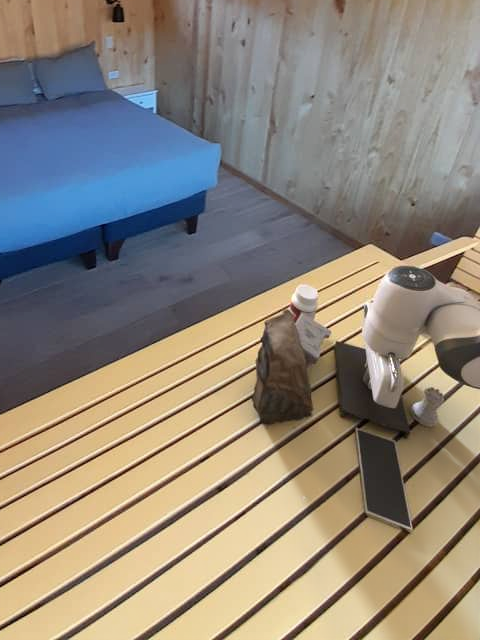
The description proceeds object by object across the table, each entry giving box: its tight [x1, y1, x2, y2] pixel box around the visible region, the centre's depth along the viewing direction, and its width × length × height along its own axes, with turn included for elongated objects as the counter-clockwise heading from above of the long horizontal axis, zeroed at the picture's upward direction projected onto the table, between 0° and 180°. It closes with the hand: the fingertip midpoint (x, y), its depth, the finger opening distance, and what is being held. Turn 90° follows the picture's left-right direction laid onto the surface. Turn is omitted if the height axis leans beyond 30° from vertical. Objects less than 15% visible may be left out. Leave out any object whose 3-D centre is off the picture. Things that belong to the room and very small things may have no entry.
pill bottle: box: [288, 284, 319, 323], centre depth 103 cm, size 6×6×11 cm
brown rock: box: [251, 308, 315, 426], centre depth 84 cm, size 13×13×20 cm
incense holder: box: [295, 314, 332, 370], centre depth 93 cm, size 10×8×10 cm
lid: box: [333, 340, 411, 440], centre depth 88 cm, size 12×18×6 cm, turn 158°
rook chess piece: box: [410, 386, 445, 428], centre depth 82 cm, size 4×4×8 cm
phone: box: [354, 427, 414, 534], centre depth 74 cm, size 7×15×1 cm, turn 158°
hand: (370, 378), depth 88 cm, fingers closed on lid, 2 cm apart
